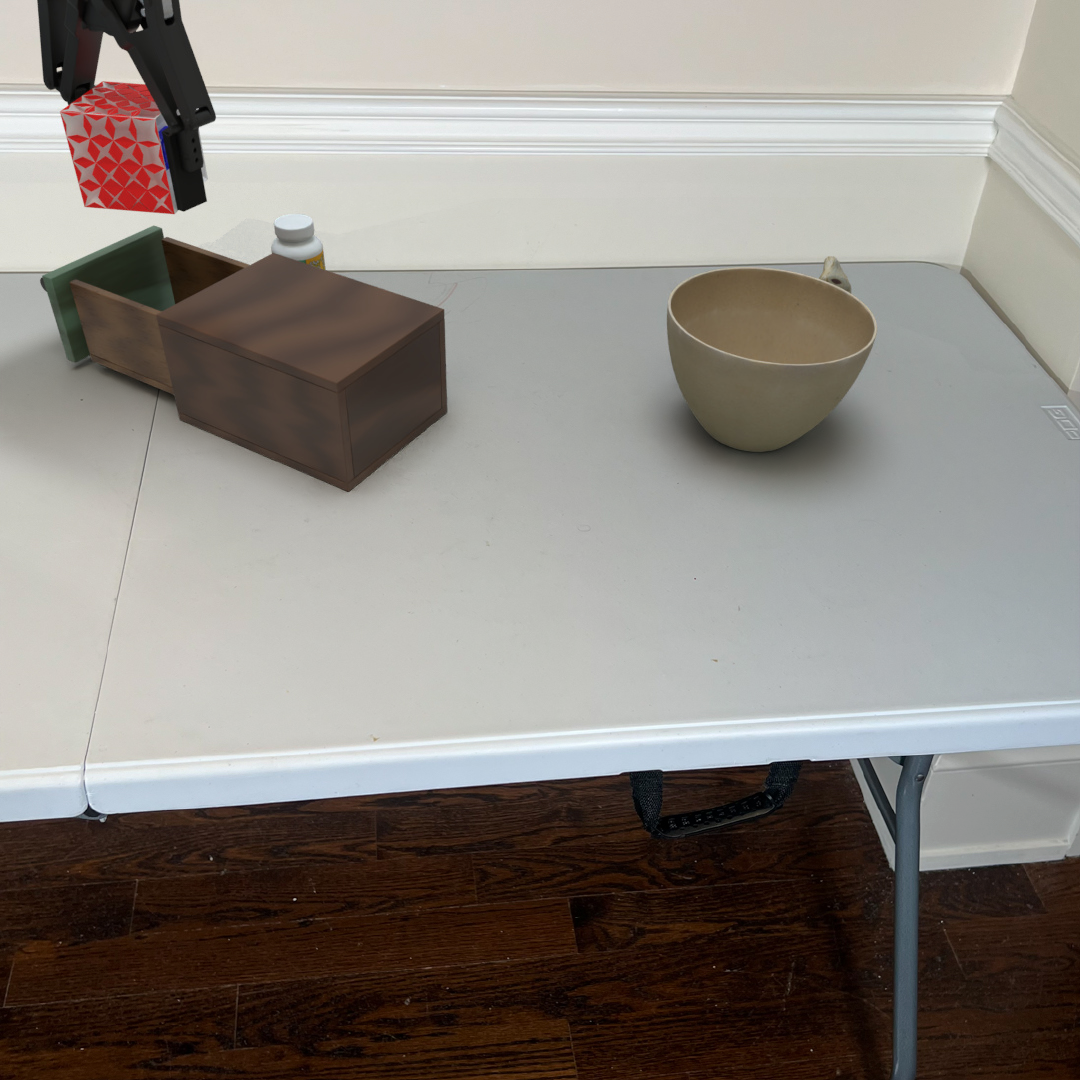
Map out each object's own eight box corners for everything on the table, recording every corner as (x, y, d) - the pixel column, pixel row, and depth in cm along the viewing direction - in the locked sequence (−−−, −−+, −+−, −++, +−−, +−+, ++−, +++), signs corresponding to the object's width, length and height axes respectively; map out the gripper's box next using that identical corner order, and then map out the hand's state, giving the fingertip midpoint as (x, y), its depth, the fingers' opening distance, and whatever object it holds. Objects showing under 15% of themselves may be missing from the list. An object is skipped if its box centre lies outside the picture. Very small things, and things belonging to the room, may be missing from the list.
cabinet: (179, 419, 95) (155, 314, 88) (287, 352, 105) (273, 252, 98) (348, 492, 88) (336, 383, 81) (447, 411, 98) (444, 308, 91)
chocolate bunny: (860, 344, 110) (883, 257, 104) (808, 364, 107) (829, 275, 100) (822, 323, 114) (842, 236, 107) (770, 341, 110) (788, 253, 104)
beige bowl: (871, 483, 91) (907, 364, 84) (670, 486, 90) (687, 365, 82) (816, 376, 105) (842, 265, 97) (640, 377, 104) (653, 264, 96)
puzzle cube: (123, 172, 94) (102, 81, 89) (207, 179, 93) (191, 87, 88) (84, 207, 88) (59, 111, 82) (174, 214, 87) (154, 119, 82)
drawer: (32, 345, 103) (5, 261, 97) (137, 292, 112) (118, 213, 106) (207, 418, 94) (189, 331, 88) (306, 355, 103) (295, 272, 97)
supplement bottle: (321, 290, 115) (311, 207, 109) (336, 311, 112) (327, 227, 106) (273, 299, 114) (261, 215, 107) (287, 321, 110) (275, 235, 104)
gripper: (-62, -118, 78) (24, 174, 92) (154, -77, 69) (211, 238, 84) (23, -129, 83) (91, 150, 97) (234, -92, 74) (275, 207, 89)
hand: (147, 190), depth 90 cm, fingers closed on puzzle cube, 10 cm apart
